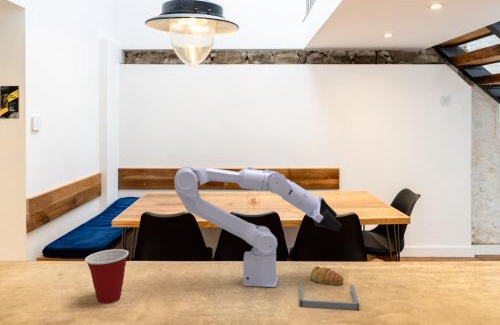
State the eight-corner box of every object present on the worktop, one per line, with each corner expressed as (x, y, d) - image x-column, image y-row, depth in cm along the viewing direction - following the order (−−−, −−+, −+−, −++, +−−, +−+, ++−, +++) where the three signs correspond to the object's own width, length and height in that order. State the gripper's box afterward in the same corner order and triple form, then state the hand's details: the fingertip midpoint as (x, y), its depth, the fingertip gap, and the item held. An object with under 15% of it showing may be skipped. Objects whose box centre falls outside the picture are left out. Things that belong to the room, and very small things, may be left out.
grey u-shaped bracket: (299, 306, 104) (299, 300, 104) (300, 287, 117) (300, 282, 117) (359, 310, 102) (359, 304, 102) (353, 290, 115) (353, 285, 115)
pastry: (347, 282, 122) (347, 269, 122) (337, 289, 117) (337, 275, 117) (318, 275, 128) (318, 263, 128) (307, 281, 123) (308, 269, 122)
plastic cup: (85, 294, 112) (84, 251, 111) (126, 289, 116) (126, 246, 115) (86, 310, 102) (85, 262, 101) (132, 303, 106) (131, 257, 105)
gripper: (311, 197, 113) (351, 223, 115) (305, 179, 127) (340, 202, 129) (296, 217, 115) (335, 241, 117) (292, 196, 129) (327, 219, 131)
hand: (337, 222), depth 123 cm, fingers open, 7 cm apart
